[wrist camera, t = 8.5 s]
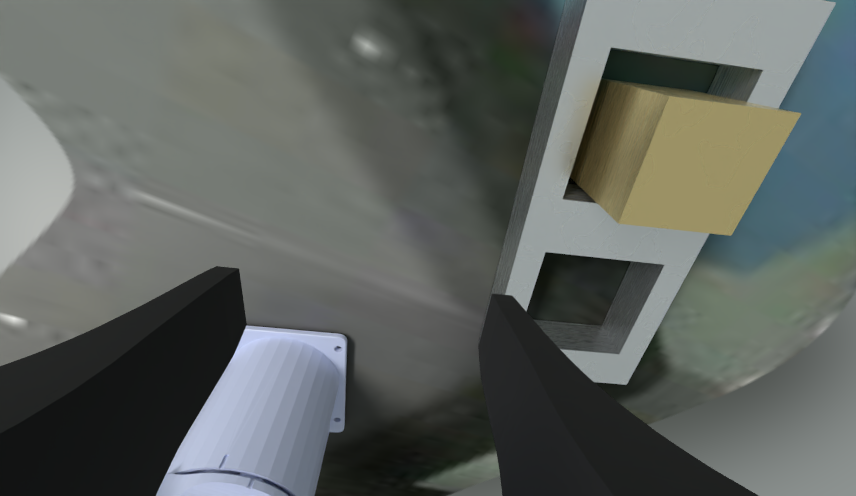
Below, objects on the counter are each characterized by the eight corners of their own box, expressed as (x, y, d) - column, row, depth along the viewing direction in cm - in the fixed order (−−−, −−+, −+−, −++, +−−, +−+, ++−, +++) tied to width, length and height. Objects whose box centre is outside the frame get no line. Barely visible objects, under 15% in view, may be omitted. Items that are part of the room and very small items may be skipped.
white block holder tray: (609, 355, 26) (626, 384, 23) (478, 343, 25) (483, 372, 23) (779, 7, 16) (836, 2, 14) (572, -27, 15) (597, -37, 13)
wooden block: (649, 182, 20) (731, 235, 14) (565, 172, 19) (618, 223, 14) (689, 89, 18) (801, 113, 12) (594, 77, 17) (669, 96, 12)
